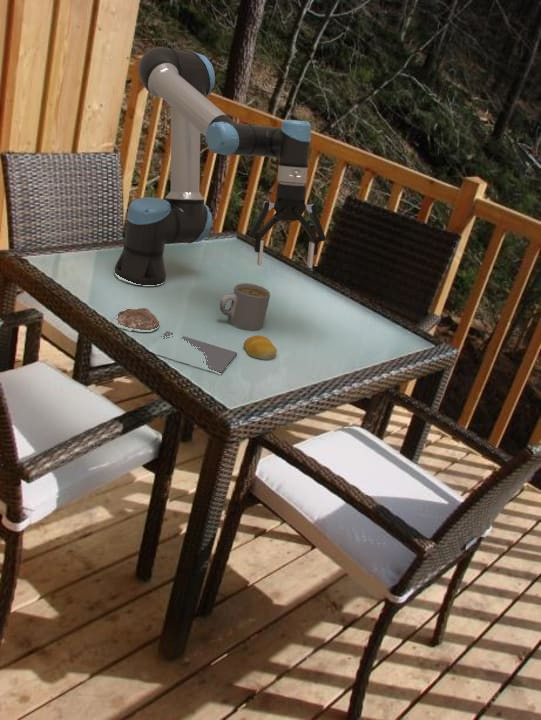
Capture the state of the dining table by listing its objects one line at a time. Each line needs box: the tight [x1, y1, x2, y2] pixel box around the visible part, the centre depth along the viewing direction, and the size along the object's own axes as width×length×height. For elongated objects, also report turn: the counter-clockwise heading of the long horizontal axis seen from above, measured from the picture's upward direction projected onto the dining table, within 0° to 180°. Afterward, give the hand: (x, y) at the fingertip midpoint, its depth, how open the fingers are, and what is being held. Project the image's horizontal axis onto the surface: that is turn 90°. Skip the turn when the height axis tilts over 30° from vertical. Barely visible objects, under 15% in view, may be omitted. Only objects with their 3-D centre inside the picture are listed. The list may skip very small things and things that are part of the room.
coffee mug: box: [219, 282, 271, 332], centre depth 198 cm, size 13×10×10 cm
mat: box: [160, 330, 238, 373], centre depth 175 cm, size 19×13×1 cm
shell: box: [116, 307, 160, 330], centre depth 184 cm, size 12×13×4 cm
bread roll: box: [243, 334, 278, 361], centre depth 184 cm, size 8×9×4 cm
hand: (284, 266), depth 190 cm, fingers open, 13 cm apart
